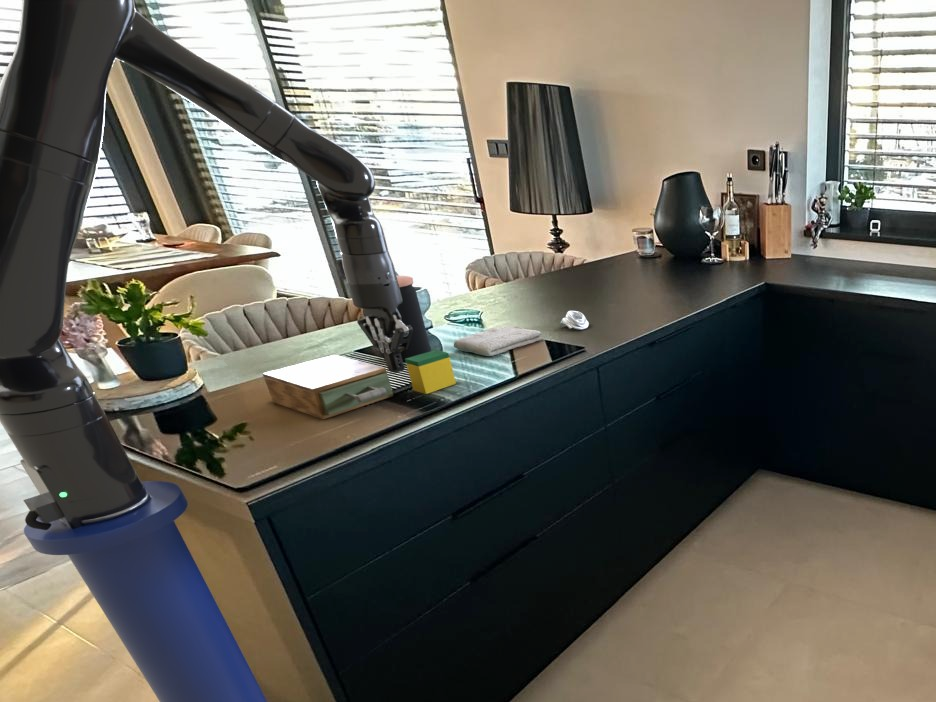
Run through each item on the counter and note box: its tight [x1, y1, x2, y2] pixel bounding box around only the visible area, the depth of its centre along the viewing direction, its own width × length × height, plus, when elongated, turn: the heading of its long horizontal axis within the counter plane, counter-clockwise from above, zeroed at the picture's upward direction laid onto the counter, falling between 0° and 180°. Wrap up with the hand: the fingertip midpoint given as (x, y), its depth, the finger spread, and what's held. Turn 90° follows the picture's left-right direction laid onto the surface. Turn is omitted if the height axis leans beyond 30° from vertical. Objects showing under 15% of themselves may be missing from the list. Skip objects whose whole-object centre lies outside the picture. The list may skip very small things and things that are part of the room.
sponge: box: [405, 349, 457, 395], centre depth 131 cm, size 7×4×7 cm, turn 153°
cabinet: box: [262, 354, 394, 420], centre depth 124 cm, size 17×14×6 cm
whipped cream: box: [559, 310, 589, 330], centre depth 174 cm, size 8×7×5 cm
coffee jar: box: [377, 275, 432, 363], centre depth 145 cm, size 11×11×18 cm
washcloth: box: [453, 325, 543, 357], centre depth 158 cm, size 12×18×3 cm, turn 156°
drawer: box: [318, 373, 394, 415], centre depth 122 cm, size 20×12×4 cm, turn 63°
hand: (397, 371), depth 118 cm, fingers closed
